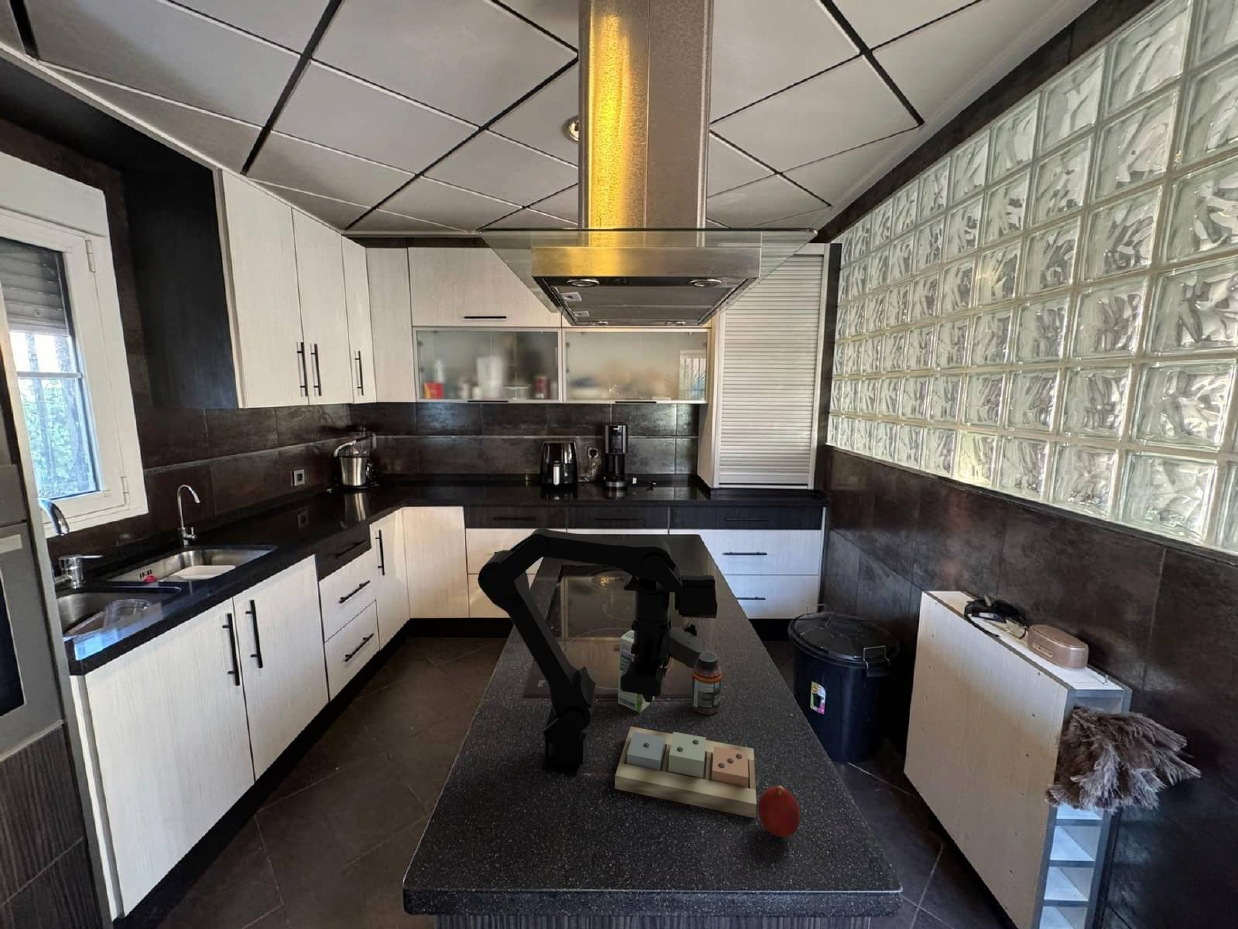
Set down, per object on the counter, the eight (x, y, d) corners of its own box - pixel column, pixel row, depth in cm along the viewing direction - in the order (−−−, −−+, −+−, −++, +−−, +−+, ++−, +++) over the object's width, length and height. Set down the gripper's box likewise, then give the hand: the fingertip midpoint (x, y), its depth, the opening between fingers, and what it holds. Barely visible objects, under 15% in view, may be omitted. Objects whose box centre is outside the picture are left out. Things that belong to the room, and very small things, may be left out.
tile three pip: (711, 787, 79) (712, 769, 79) (712, 761, 85) (713, 745, 84) (747, 794, 78) (748, 776, 77) (746, 768, 83) (747, 751, 83)
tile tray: (614, 788, 80) (615, 775, 79) (630, 738, 91) (630, 726, 91) (755, 818, 75) (756, 804, 74) (752, 761, 86) (753, 748, 86)
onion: (766, 810, 76) (769, 764, 75) (803, 832, 73) (808, 784, 71) (750, 836, 72) (753, 787, 70) (789, 860, 68) (793, 809, 67)
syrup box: (616, 703, 101) (618, 637, 99) (632, 689, 106) (634, 626, 104) (640, 714, 98) (642, 646, 96) (655, 699, 103) (657, 634, 101)
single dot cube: (626, 770, 82) (627, 753, 82) (633, 746, 88) (633, 731, 87) (659, 776, 81) (660, 760, 81) (664, 752, 86) (665, 736, 86)
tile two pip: (668, 771, 81) (669, 754, 80) (672, 747, 86) (673, 731, 85) (702, 778, 79) (704, 760, 79) (705, 753, 85) (705, 737, 84)
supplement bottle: (695, 694, 105) (698, 645, 103) (723, 703, 102) (726, 652, 100) (686, 710, 99) (689, 658, 98) (715, 720, 97) (718, 666, 95)
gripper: (696, 650, 70) (691, 748, 72) (704, 597, 88) (700, 677, 90) (620, 639, 72) (618, 735, 75) (643, 590, 90) (641, 668, 93)
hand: (648, 701), depth 83 cm, fingers closed
